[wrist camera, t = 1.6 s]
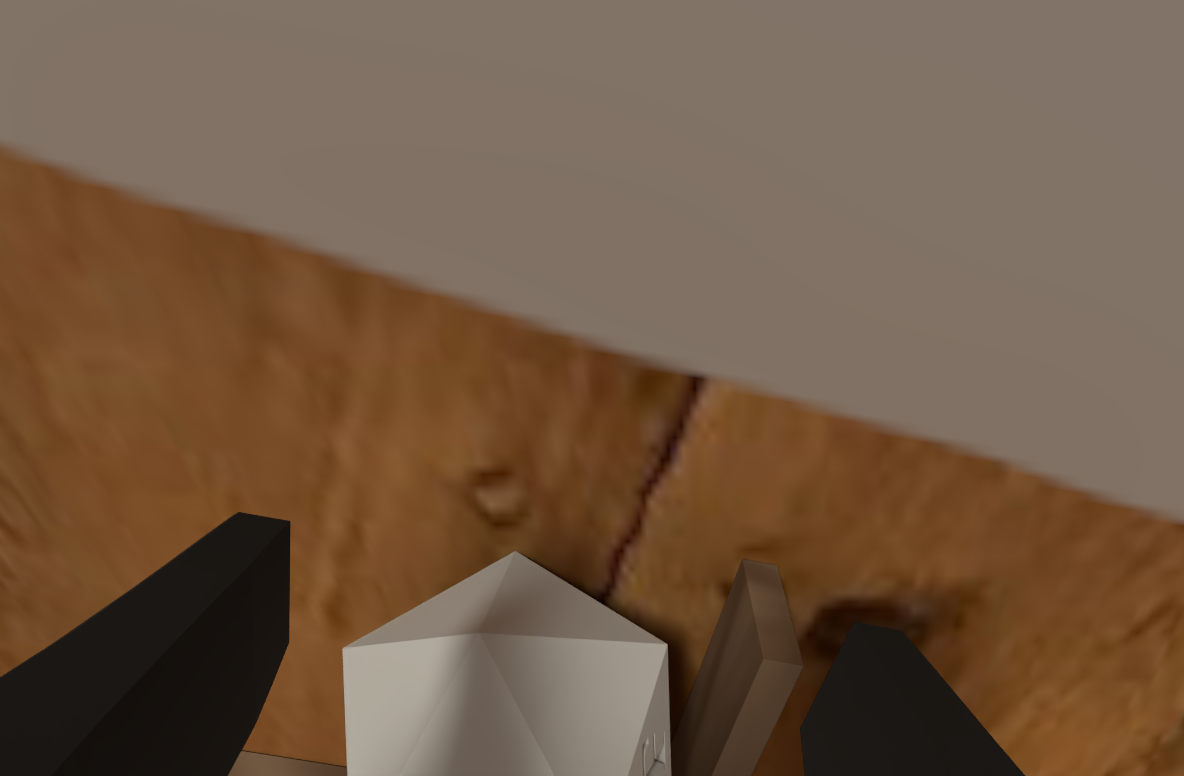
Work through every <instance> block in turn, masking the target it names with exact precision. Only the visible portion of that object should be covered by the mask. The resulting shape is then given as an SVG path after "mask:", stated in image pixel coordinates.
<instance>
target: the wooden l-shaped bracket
mask: <svg viewBox="0 0 1184 776" xmlns="http://www.w3.org/2000/svg"><path fill="white" fill-rule="evenodd" d="M803 667H804V665H803V661H802V657H801V653H800V650H799V646H798V642H797V638H796V635H795V631H794V627H793V623H792V620H791V616H790V612H789V608H788V605H787V601H786V597H785V593H784V590H783V586H782V582H781V579H780V575H779V571H778V567H777V566H776V565H771V564H765V563H760V562H754V561H749V560H743V559H742V562H741V564H740V567H739V569H738V572H737V575H736V577H735V580H734V582H733V585H732V587H731V590H730V593H729V595H728V598H727V600H726V603H725V606H724V608H723V611H722V613H721V616H720V618H719V621H718V624H717V626H716V629H715V631H714V634H713V636H712V639H711V642H710V644H709V647H708V649H707V652H706V655H705V657H704V660H703V662H702V665H701V667H700V670H699V673H698V675H697V678H696V680H695V683H694V685H693V688H692V691H691V693H690V696H689V698H688V701H687V704H686V706H685V709H684V711H683V714H682V716H681V719H680V722H679V724H678V727H677V729H676V732H675V734H674V737H673V740H672V742H671V745H670V748H671V776H751V775H752V773H753V771H754V768H755V766H756V764H757V762H758V760H759V758H760V756H761V754H762V752H763V750H764V748H765V746H766V744H767V742H768V739H769V737H770V735H771V733H772V731H773V729H774V727H775V725H776V723H777V721H778V719H779V717H780V715H781V713H782V710H783V708H784V706H785V704H786V702H787V700H788V698H789V696H790V694H791V692H792V690H793V688H794V686H795V683H796V681H797V679H798V677H799V675H800V673H801V671H802V669H803ZM228 776H347V767H340V766H334V765H328V764H321V763H315V762H309V761H302V760H296V759H290V758H283V757H277V756H271V755H264V754H258V753H252V752H245V751H241V752H240V754H239V756H238V758H237V760H236V762H235V763H234V765H233V767H232V769H231V771H230V773H229V775H228Z"/></svg>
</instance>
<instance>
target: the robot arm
mask: <svg viewBox="0 0 1184 776" xmlns="http://www.w3.org/2000/svg"><path fill="white" fill-rule="evenodd" d="M289 605H290V521H286V520H281V519H275V518H269V517H264V516H258V515H253V514H247V513H241V512H238V513H237V514H235V515H233V516H232V517H230V518H229V519H227V520H226V521H224V522H223V523H222V524H220V525H219V526H218V527H216V528H215V529H213V530H212V531H211V532H209V533H208V534H206V535H205V536H204V537H202V538H201V539H200V540H198V541H197V542H196V543H194V544H193V545H191V546H190V547H189V548H187V549H186V550H185V551H183V552H182V553H181V554H179V555H178V556H176V557H175V558H174V559H172V560H171V561H170V562H168V563H167V564H166V565H164V566H163V567H161V568H160V569H159V570H157V571H156V572H154V573H153V574H152V575H150V576H149V577H147V578H146V579H145V580H143V581H142V582H141V583H139V584H138V585H136V586H135V587H134V588H132V589H131V590H129V591H128V592H127V593H125V594H124V595H122V596H121V597H119V598H118V599H116V600H115V601H114V602H112V603H111V604H109V605H108V606H106V607H105V608H103V609H102V610H101V611H99V612H98V613H96V614H95V615H93V616H92V617H90V618H89V619H88V620H86V621H85V622H83V623H82V624H80V625H79V626H77V627H76V628H75V629H73V630H72V631H70V632H69V633H67V634H66V635H64V636H63V637H61V638H60V639H59V640H57V641H56V642H54V643H53V644H51V645H50V646H48V647H47V648H45V649H44V650H42V651H40V652H39V653H37V654H36V655H34V656H33V657H31V658H29V659H28V660H26V661H25V662H23V663H22V664H20V665H18V666H17V667H15V668H14V669H12V670H11V671H9V672H8V673H6V674H4V675H3V676H1V677H0V776H228V775H229V773H230V771H231V769H232V767H233V765H234V763H235V762H236V760H237V758H238V756H239V754H240V752H241V751H242V749H243V747H244V745H245V743H246V741H247V739H248V737H249V736H250V734H251V732H252V730H253V728H254V726H255V724H256V722H257V720H258V717H259V715H260V712H261V710H262V708H263V705H264V703H265V701H266V698H267V696H268V693H269V691H270V689H271V686H272V684H273V681H274V679H275V676H276V674H277V671H278V669H279V666H280V664H281V661H282V659H283V656H284V654H285V651H286V649H287V646H288V644H289ZM800 733H801V743H802V753H803V763H804V772H805V776H1025V775H1024V774H1023V773H1022V771H1021V770H1020V769H1019V768H1018V767H1017V766H1016V765H1015V763H1014V762H1013V761H1012V760H1011V759H1010V758H1009V756H1008V755H1007V754H1006V753H1005V752H1004V750H1003V749H1002V748H1001V747H1000V746H999V745H998V743H997V742H996V741H995V740H994V739H993V737H992V736H991V735H990V734H989V733H988V732H987V730H986V729H985V728H984V727H983V726H982V724H981V723H980V722H979V721H978V720H977V718H976V717H975V716H974V715H973V714H972V712H971V711H970V710H969V709H968V708H967V707H966V705H965V704H964V703H963V702H962V701H961V699H960V698H959V697H958V696H957V695H956V693H955V692H954V691H953V690H952V689H951V687H950V686H949V685H948V684H947V683H946V681H945V680H944V679H943V678H942V677H941V676H940V674H939V673H938V672H937V671H936V670H935V668H934V667H933V666H932V665H931V664H930V663H929V661H928V660H927V659H926V658H925V657H924V656H923V654H922V653H921V652H920V651H919V650H918V649H917V648H916V646H915V645H914V644H913V643H912V642H911V641H910V640H909V639H908V638H907V636H906V635H905V634H904V633H903V632H902V631H901V630H896V629H891V628H885V627H880V626H874V625H868V624H863V623H857V622H854V623H853V625H852V627H851V629H850V631H849V633H848V635H847V637H846V639H845V641H844V643H843V645H842V647H841V649H840V651H839V653H838V655H837V657H836V659H835V661H834V663H833V665H832V667H831V668H830V670H829V672H828V674H827V676H826V678H825V680H824V682H823V684H822V686H821V688H820V690H819V692H818V694H817V696H816V698H815V700H814V702H813V704H812V706H811V708H810V710H809V712H808V714H807V716H806V718H805V720H804V721H803V723H802V725H801V727H800Z"/></svg>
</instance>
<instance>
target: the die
mask: <svg viewBox="0 0 1184 776" xmlns="http://www.w3.org/2000/svg"><path fill="white" fill-rule="evenodd" d="M343 671H344V697H345V724H346V750H347V776H671V748H670V712H669V676H668V644H666V643H665V642H663V641H661V640H660V639H658V638H656V637H655V636H653V635H652V634H650V633H648V632H647V631H645V630H643V629H642V628H640V627H639V626H637V625H635V624H634V623H632V622H630V621H629V620H627V619H625V618H624V617H622V616H621V615H619V614H617V613H616V612H614V611H612V610H611V609H609V608H608V607H606V606H604V605H603V604H601V603H599V602H598V601H596V600H595V599H593V598H591V597H590V596H588V595H586V594H585V593H583V592H581V591H580V590H578V589H577V588H575V587H573V586H572V585H570V584H568V583H567V582H565V581H564V580H562V579H560V578H559V577H557V576H555V575H554V574H552V573H551V572H549V571H547V570H546V569H544V568H542V567H541V566H539V565H537V564H536V563H534V562H533V561H531V560H529V559H528V558H526V557H524V556H523V555H521V554H520V553H518V552H516V551H515V552H513V553H511V554H509V555H508V556H506V557H504V558H502V559H500V560H499V561H497V562H495V563H493V564H492V565H490V566H488V567H486V568H484V569H483V570H481V571H479V572H477V573H476V574H474V575H472V576H470V577H468V578H467V579H465V580H463V581H461V582H460V583H458V584H456V585H454V586H452V587H451V588H449V589H447V590H445V591H444V592H442V593H440V594H438V595H436V596H435V597H433V598H431V599H429V600H428V601H426V602H424V603H422V604H420V605H419V606H417V607H415V608H413V609H412V610H410V611H408V612H406V613H404V614H403V615H401V616H399V617H397V618H396V619H394V620H392V621H390V622H388V623H387V624H385V625H383V626H381V627H379V628H378V629H376V630H374V631H372V632H371V633H369V634H367V635H365V636H363V637H362V638H360V639H358V640H356V641H355V642H353V643H351V644H349V645H347V646H346V647H344V648H343Z"/></svg>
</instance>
